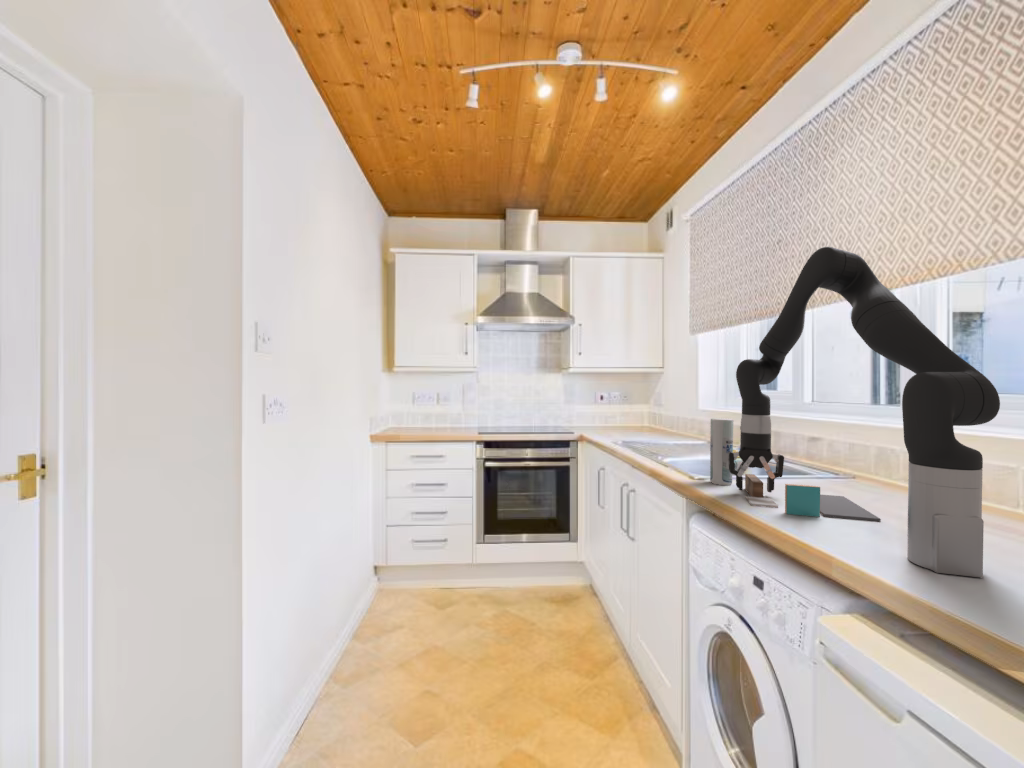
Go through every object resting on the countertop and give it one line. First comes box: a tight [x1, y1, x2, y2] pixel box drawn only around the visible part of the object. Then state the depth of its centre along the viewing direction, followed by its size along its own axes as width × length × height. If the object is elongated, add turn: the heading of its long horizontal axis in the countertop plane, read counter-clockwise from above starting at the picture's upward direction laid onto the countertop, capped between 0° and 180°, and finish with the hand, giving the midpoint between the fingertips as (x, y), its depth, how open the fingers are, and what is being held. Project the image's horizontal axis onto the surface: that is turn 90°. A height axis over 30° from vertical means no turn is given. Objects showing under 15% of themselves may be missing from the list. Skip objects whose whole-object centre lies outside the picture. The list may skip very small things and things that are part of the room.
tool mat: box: [820, 494, 882, 522], centre depth 116 cm, size 22×11×1 cm, turn 162°
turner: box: [744, 473, 779, 509], centre depth 125 cm, size 20×6×4 cm, turn 162°
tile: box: [784, 483, 821, 518], centre depth 108 cm, size 1×7×7 cm, turn 72°
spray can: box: [709, 417, 734, 486], centre depth 142 cm, size 6×6×20 cm
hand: (754, 490), depth 127 cm, fingers open, 6 cm apart
